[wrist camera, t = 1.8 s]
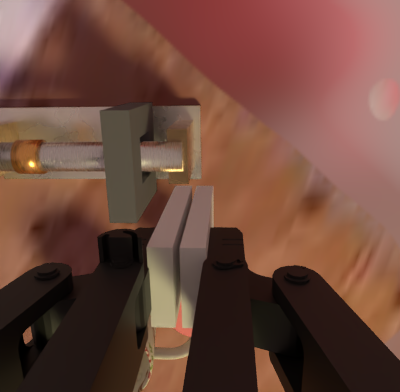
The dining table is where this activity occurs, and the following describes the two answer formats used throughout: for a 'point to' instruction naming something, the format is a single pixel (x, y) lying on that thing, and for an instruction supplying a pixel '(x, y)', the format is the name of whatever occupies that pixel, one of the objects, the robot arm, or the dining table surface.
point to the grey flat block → (127, 160)
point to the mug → (156, 357)
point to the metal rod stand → (94, 143)
